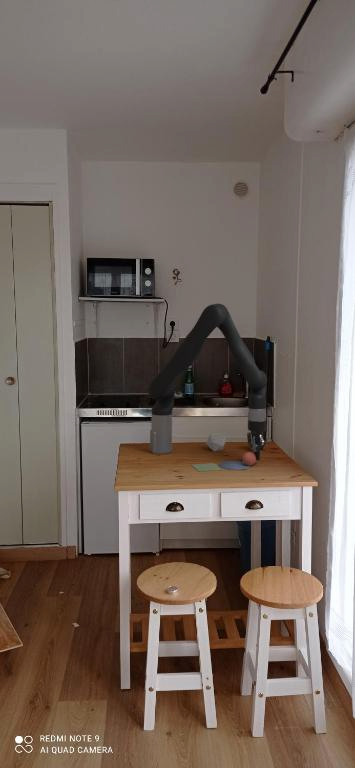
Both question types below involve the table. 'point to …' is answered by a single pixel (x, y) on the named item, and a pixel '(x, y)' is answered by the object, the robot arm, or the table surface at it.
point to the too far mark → (206, 467)
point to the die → (216, 441)
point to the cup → (248, 440)
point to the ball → (249, 458)
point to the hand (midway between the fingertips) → (256, 459)
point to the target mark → (233, 465)
